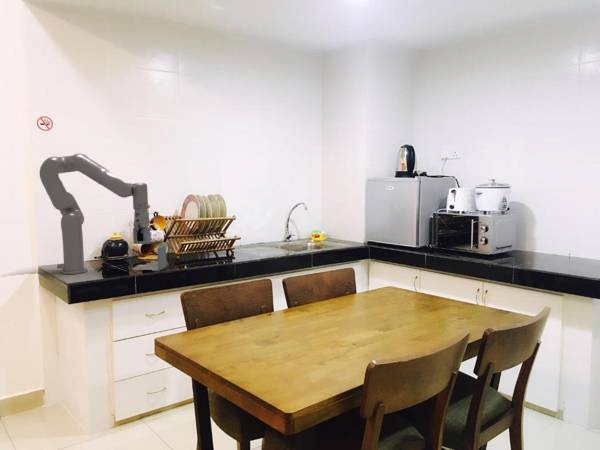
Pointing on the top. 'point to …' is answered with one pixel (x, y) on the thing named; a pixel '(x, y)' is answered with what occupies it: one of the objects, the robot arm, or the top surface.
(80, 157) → the robot arm
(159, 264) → the grey l-shaped piece
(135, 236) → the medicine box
